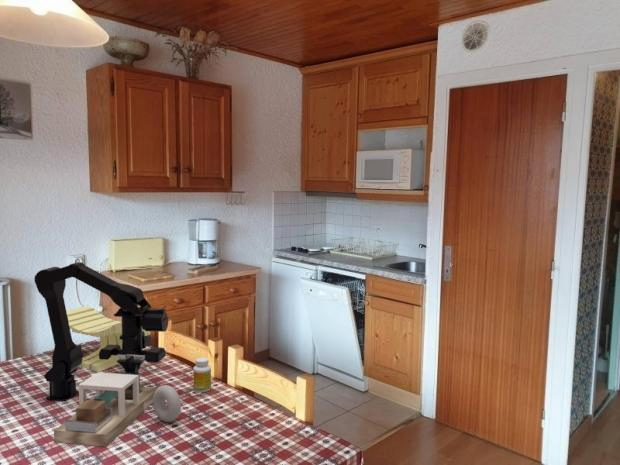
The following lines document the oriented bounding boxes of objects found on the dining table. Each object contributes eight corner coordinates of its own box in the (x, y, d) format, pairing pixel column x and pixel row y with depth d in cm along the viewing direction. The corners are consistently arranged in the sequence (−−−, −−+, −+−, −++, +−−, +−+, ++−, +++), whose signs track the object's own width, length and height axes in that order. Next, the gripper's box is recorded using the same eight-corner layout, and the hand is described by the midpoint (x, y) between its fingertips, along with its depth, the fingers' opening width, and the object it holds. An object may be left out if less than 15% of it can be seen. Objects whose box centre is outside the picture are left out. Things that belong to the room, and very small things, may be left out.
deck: (54, 441, 123) (53, 430, 123) (115, 394, 152) (115, 384, 152) (106, 446, 121) (106, 434, 121) (158, 397, 150) (158, 387, 150)
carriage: (65, 429, 123) (64, 407, 122) (117, 389, 147) (117, 370, 147) (95, 432, 122) (94, 410, 121) (143, 391, 146) (142, 372, 146)
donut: (184, 423, 133) (183, 388, 133) (174, 428, 131) (173, 392, 130) (160, 413, 139) (159, 379, 138) (150, 418, 136) (149, 383, 135)
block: (76, 427, 125) (75, 408, 124) (88, 418, 130) (87, 399, 129) (94, 428, 124) (94, 409, 124) (105, 419, 129) (105, 401, 129)
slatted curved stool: (151, 361, 181) (150, 313, 179) (116, 376, 166) (115, 324, 165) (93, 348, 194) (92, 304, 192) (57, 361, 180) (55, 313, 178)
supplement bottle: (206, 393, 153) (206, 363, 152) (190, 391, 154) (190, 361, 153) (213, 386, 158) (213, 357, 158) (198, 385, 160) (197, 356, 159)
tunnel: (79, 413, 132) (78, 384, 132) (98, 399, 141) (97, 372, 140) (122, 416, 131) (122, 387, 130) (139, 402, 139) (138, 375, 139)
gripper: (172, 324, 154) (173, 372, 155) (116, 321, 156) (118, 369, 158) (157, 335, 143) (158, 387, 144) (97, 331, 145) (98, 382, 147)
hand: (133, 380), depth 148 cm, fingers closed, pressing on carriage
